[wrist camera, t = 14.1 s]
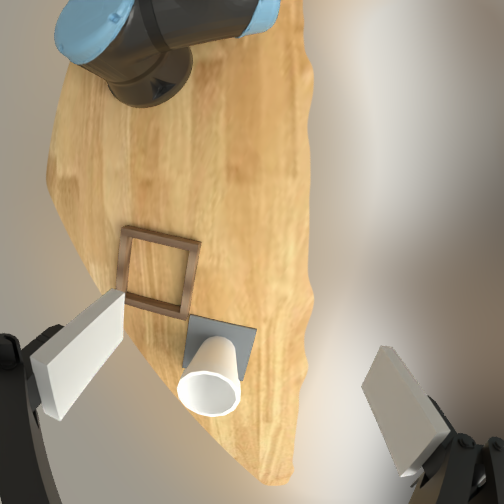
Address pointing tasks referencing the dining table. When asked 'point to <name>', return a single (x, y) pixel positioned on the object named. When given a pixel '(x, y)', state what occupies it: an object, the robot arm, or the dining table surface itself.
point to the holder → (163, 239)
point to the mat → (236, 334)
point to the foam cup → (211, 379)
